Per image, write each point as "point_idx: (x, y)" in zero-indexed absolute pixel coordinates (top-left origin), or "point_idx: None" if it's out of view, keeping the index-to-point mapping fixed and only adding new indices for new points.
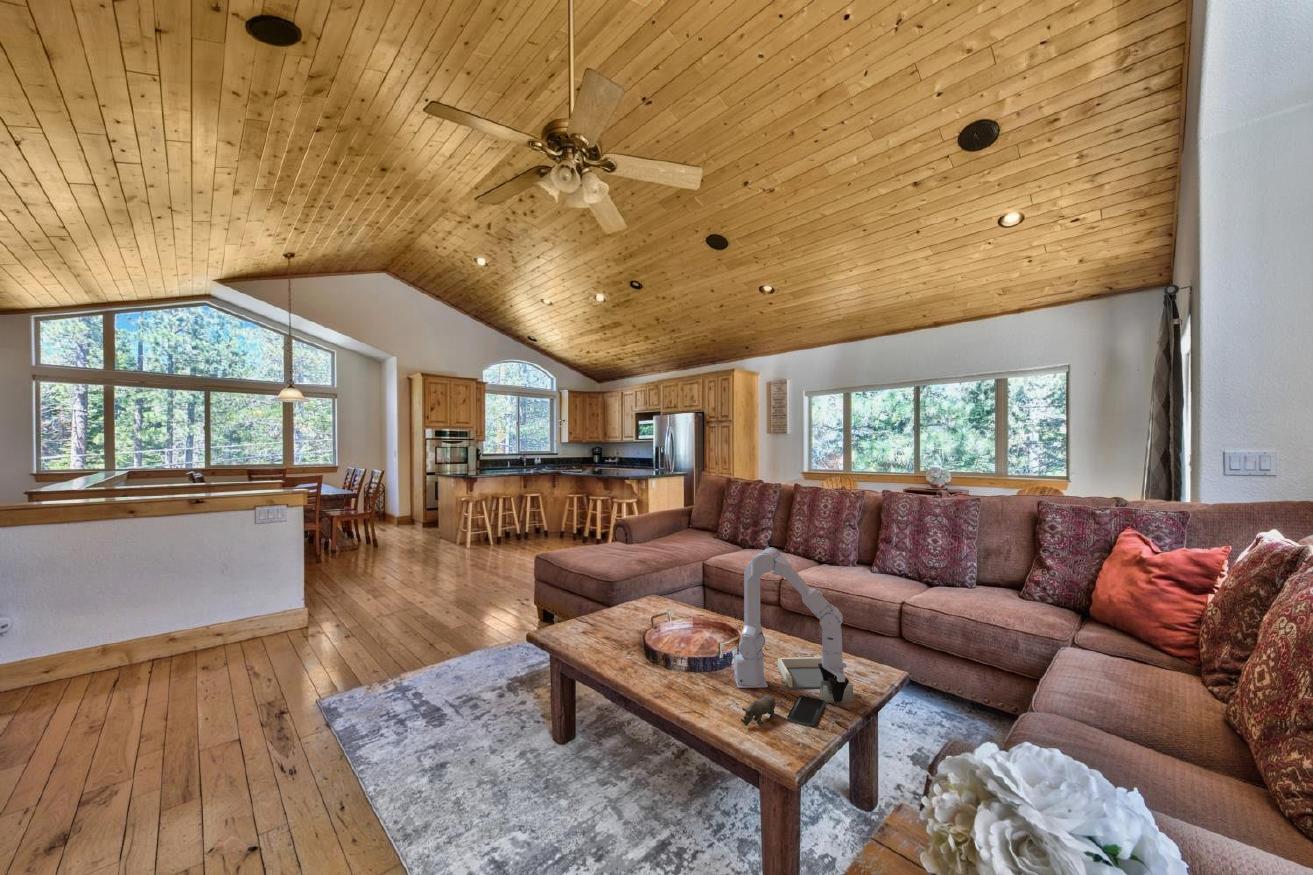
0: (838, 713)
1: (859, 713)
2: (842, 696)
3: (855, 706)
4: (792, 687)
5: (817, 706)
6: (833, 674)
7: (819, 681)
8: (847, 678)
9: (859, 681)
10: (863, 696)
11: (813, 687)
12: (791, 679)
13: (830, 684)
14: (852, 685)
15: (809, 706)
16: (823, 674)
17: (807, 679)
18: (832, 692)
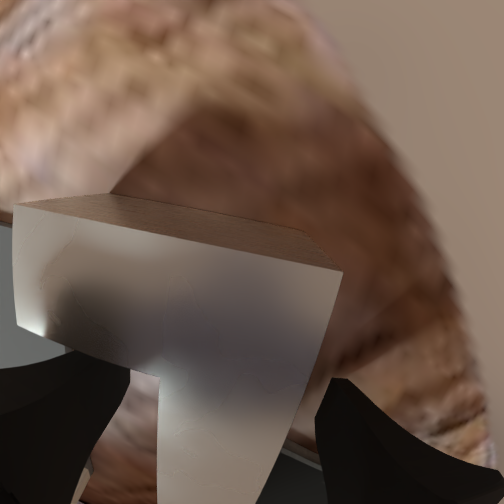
0: (392, 404)
1: (446, 286)
2: (369, 403)
3: (370, 259)
4: (88, 467)
5: (303, 478)
6: (59, 401)
7: (10, 317)
8: (110, 226)
9: (45, 33)
10: (238, 90)
11: None
12: (75, 497)
13: (237, 483)
14: (338, 280)
15: (288, 498)
16: (77, 474)
17: (2, 363)
18: (329, 477)
